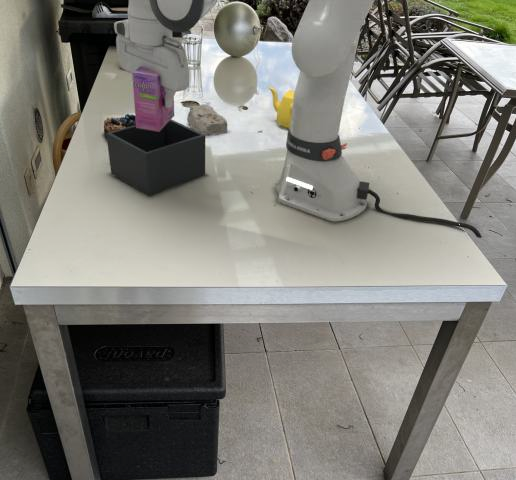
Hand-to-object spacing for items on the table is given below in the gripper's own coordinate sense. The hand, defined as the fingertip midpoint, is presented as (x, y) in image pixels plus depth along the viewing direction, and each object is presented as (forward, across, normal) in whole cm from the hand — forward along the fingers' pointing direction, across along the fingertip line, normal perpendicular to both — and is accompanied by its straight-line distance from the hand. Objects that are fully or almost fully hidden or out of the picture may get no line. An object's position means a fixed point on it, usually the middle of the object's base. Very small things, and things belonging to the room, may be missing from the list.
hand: (154, 100), depth 119 cm
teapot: (+18, +1, -53) cm, 56 cm away
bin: (+17, 0, 0) cm, 17 cm away
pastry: (+18, +23, -8) cm, 30 cm away
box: (+5, 0, 0) cm, 5 cm away
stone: (+18, +15, -30) cm, 38 cm away
